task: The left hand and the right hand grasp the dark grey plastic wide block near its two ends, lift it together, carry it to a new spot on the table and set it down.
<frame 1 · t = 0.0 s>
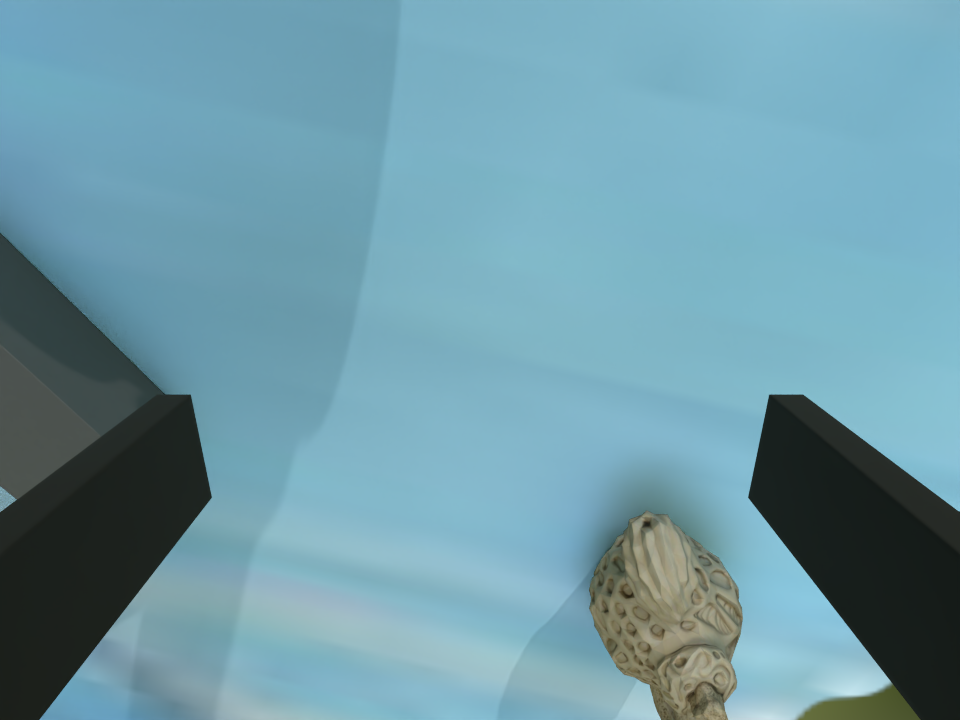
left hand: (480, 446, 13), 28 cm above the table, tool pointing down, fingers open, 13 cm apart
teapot: (645, 563, 49), on the table
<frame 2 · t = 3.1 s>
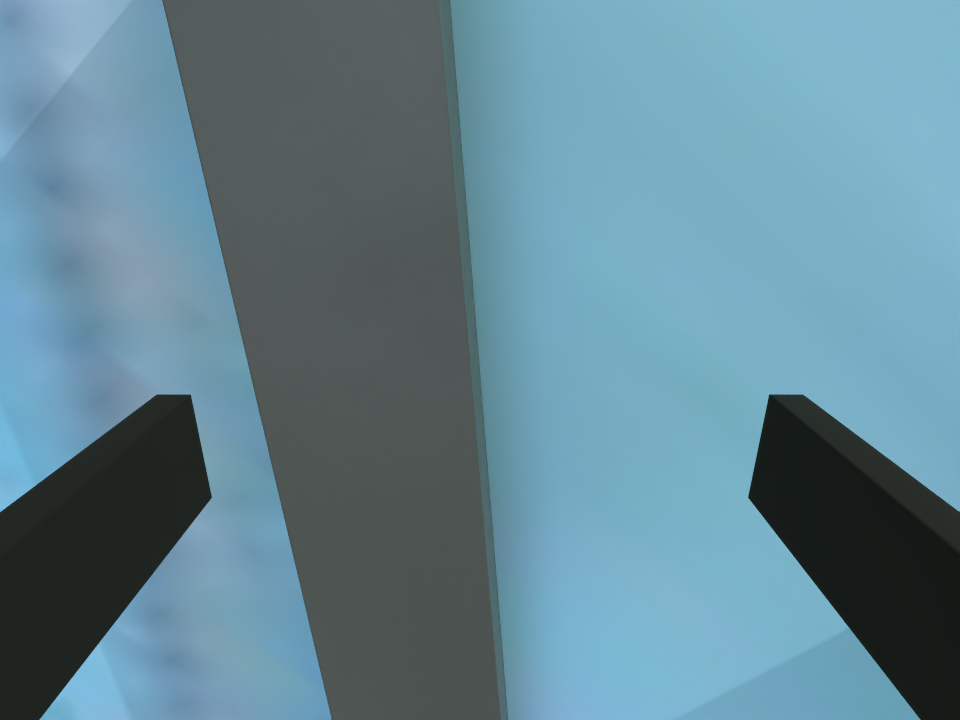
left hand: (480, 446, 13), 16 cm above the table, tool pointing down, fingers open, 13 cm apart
wide block: (430, 606, 34), on the table
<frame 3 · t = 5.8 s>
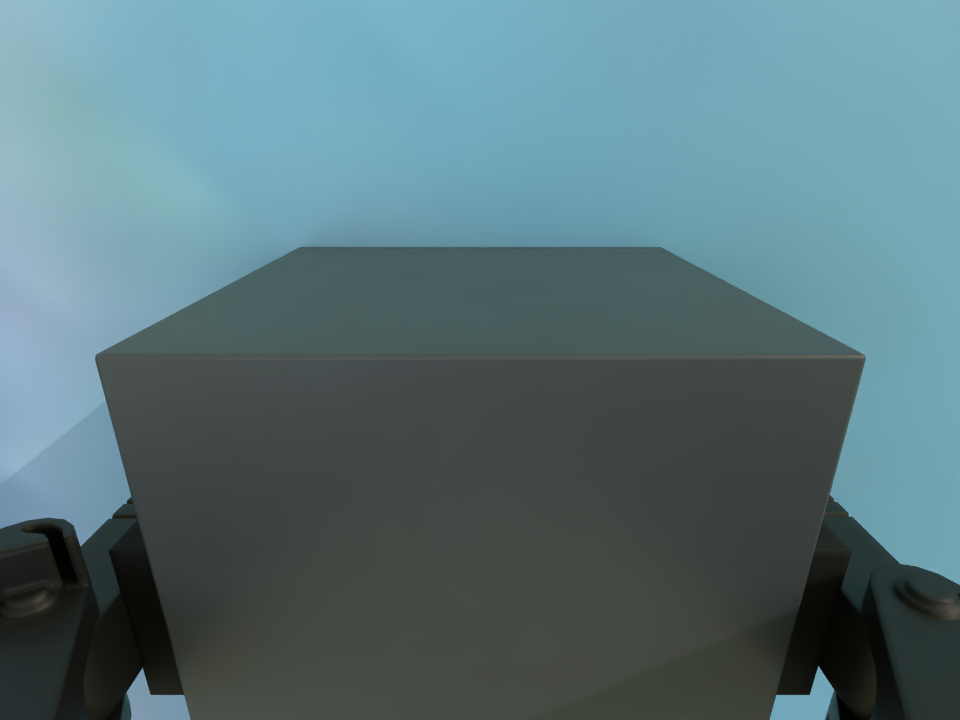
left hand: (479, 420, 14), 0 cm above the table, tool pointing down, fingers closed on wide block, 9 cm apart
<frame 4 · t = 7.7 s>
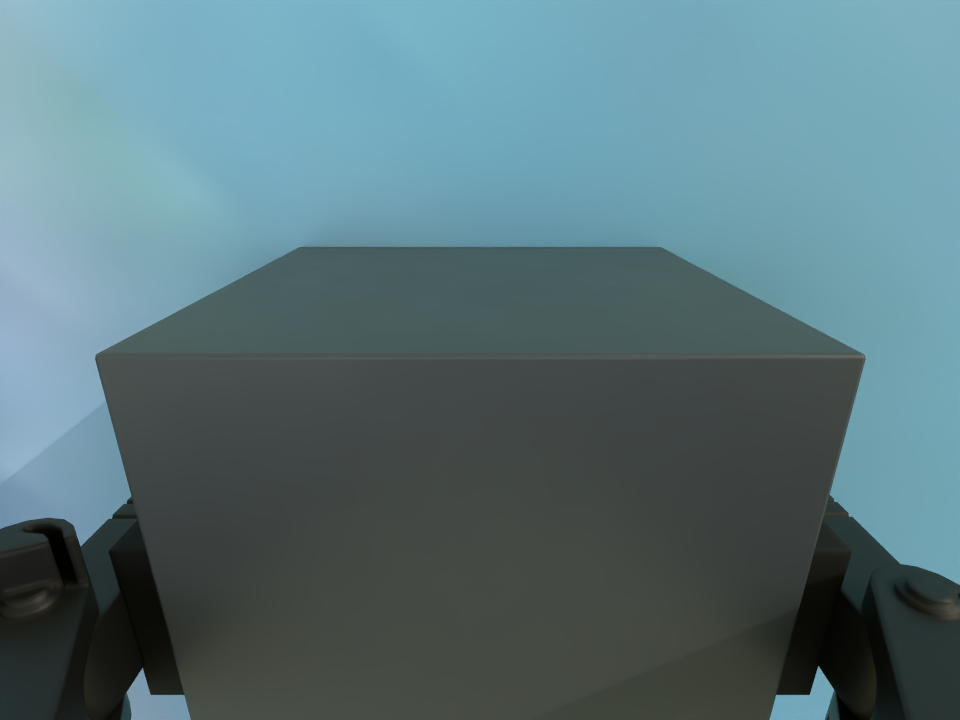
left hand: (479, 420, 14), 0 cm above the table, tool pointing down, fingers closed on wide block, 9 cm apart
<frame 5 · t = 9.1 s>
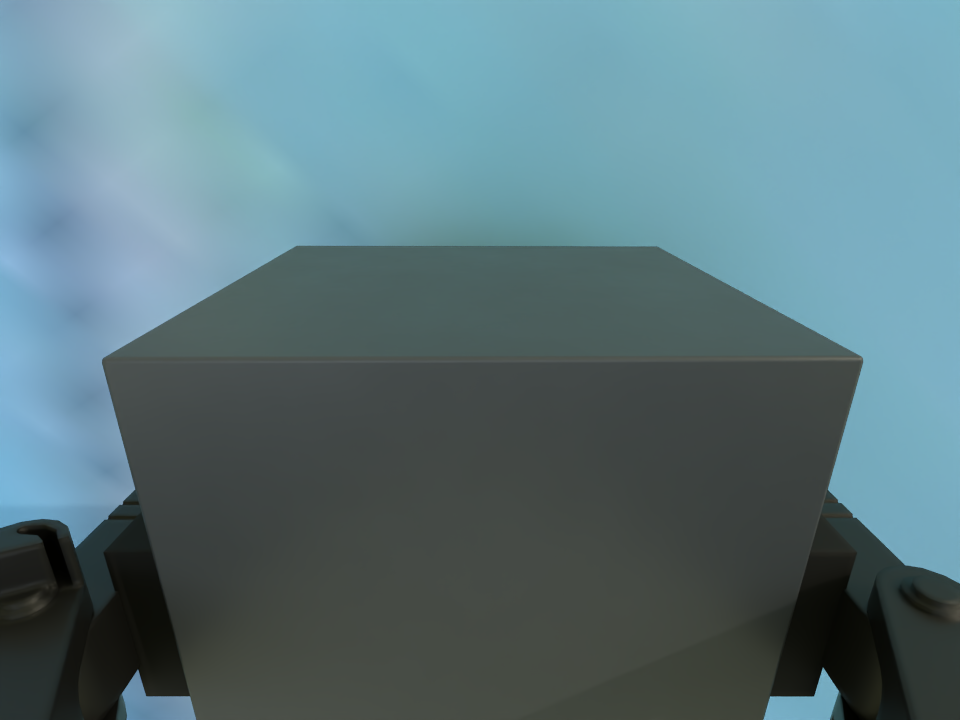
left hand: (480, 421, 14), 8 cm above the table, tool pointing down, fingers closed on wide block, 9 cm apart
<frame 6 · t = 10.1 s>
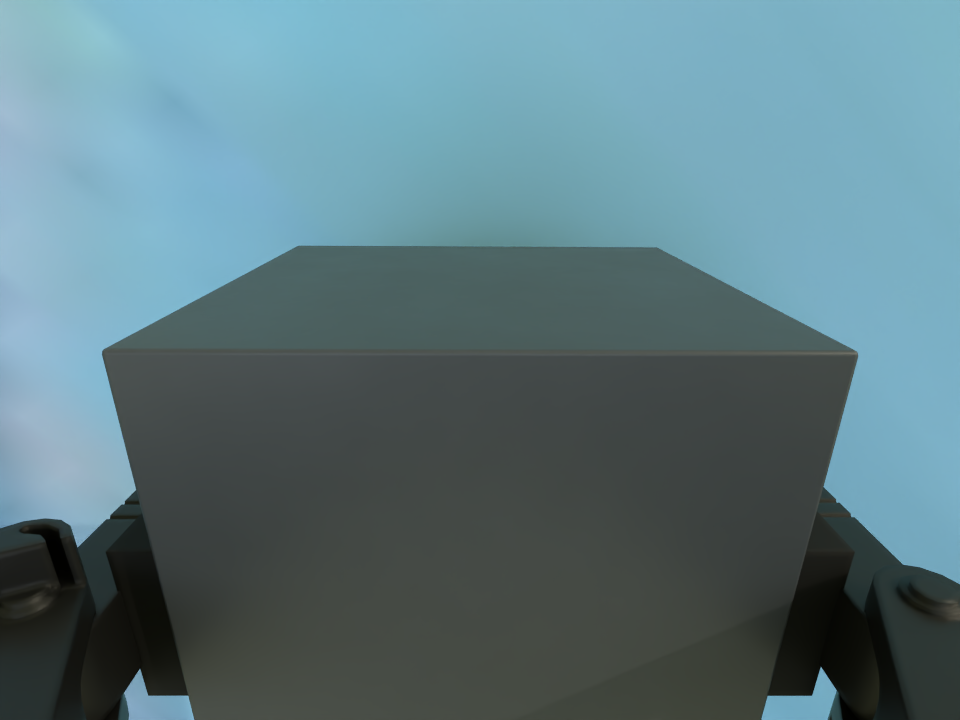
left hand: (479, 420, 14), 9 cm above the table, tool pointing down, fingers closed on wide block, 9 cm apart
when the left hand's fingers open (2 cm above the table, at t = 12.7 s): wide block drops 2 cm, on the table.
when the right hand's fingers open (2 cm above the table, at t = 12.7 s): wide block drops 2 cm, on the table.
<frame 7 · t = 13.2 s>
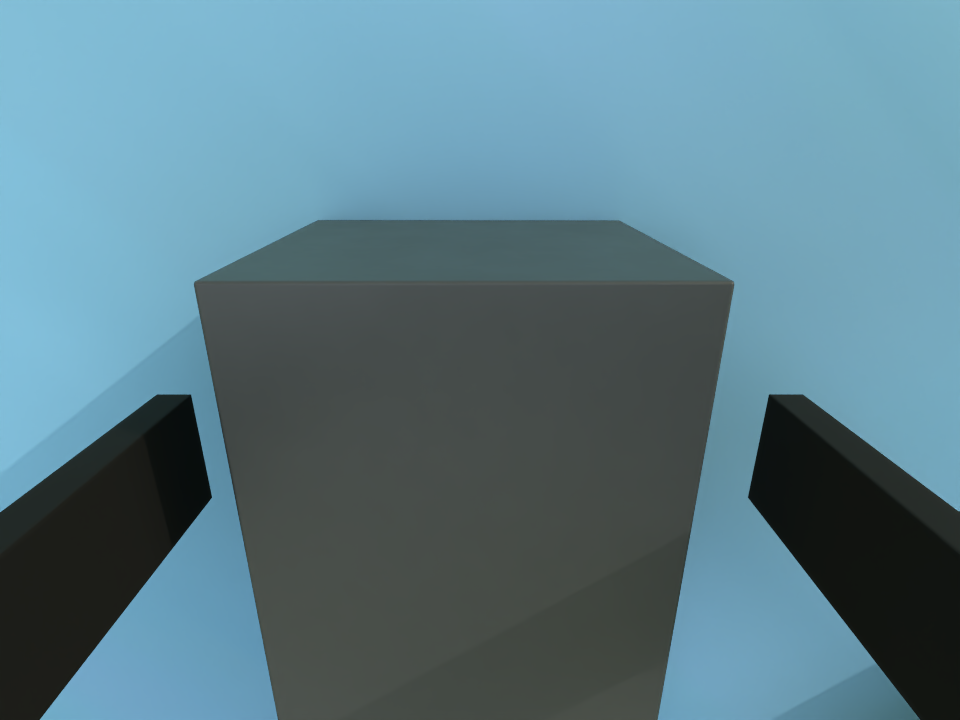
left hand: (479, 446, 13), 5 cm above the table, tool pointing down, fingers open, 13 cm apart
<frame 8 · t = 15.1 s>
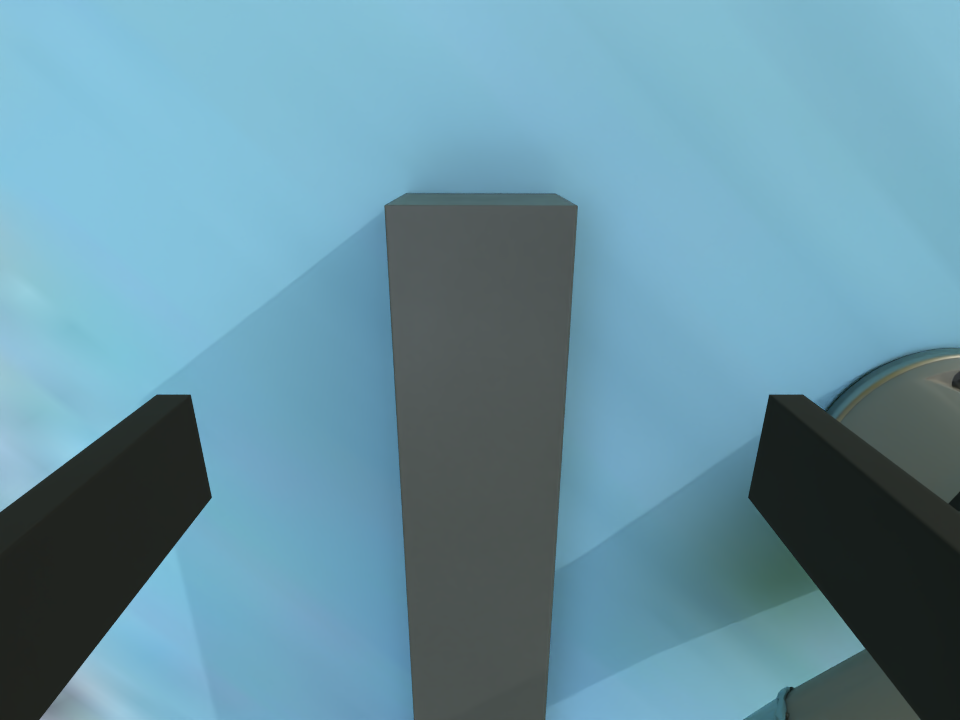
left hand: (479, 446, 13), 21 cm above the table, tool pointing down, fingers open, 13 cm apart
wide block: (479, 673, 44), on the table
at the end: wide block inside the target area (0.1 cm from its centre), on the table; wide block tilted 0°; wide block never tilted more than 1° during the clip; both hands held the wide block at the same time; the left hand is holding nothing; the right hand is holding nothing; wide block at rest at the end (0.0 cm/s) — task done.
